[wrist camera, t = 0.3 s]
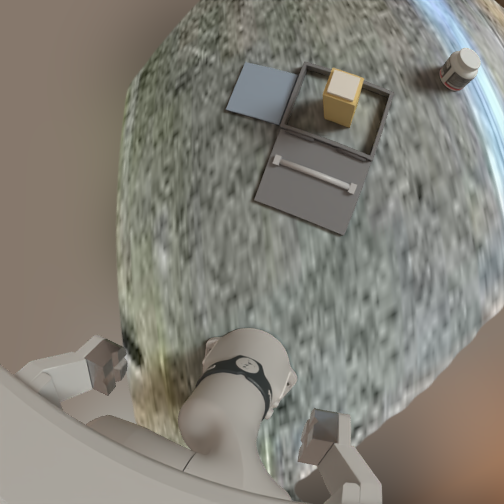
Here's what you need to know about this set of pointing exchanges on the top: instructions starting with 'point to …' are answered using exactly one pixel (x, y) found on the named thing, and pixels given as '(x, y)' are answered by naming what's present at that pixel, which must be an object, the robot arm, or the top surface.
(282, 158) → the case
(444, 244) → the top surface
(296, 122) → the top surface
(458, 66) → the pill bottle
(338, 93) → the block
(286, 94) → the mat
